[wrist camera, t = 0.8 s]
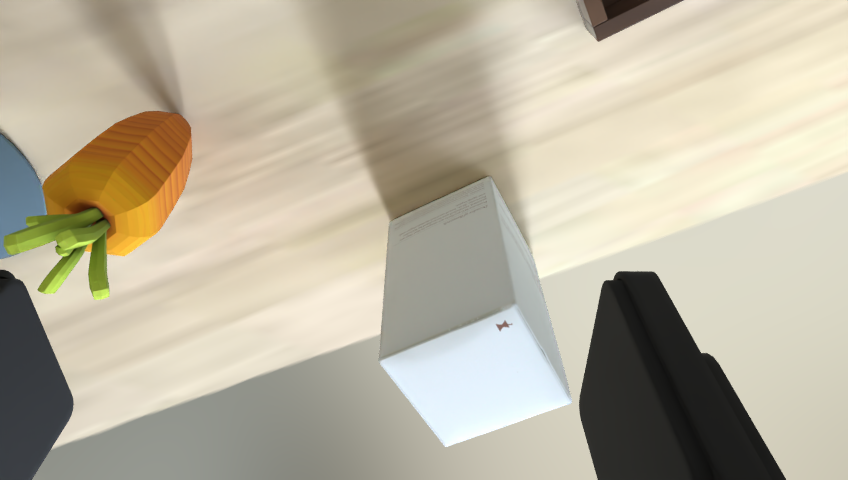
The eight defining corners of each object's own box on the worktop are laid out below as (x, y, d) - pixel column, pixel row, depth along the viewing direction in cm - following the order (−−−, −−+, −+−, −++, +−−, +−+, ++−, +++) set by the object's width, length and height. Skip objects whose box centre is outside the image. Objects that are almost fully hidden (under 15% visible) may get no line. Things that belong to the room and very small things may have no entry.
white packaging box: (385, 220, 39) (372, 359, 28) (491, 171, 37) (520, 301, 26) (437, 301, 42) (442, 451, 32) (536, 260, 41) (577, 406, 30)
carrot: (237, 150, 36) (138, 309, 24) (159, 167, 37) (24, 332, 24) (202, 69, 34) (71, 200, 21) (119, 89, 34) (-56, 228, 22)
